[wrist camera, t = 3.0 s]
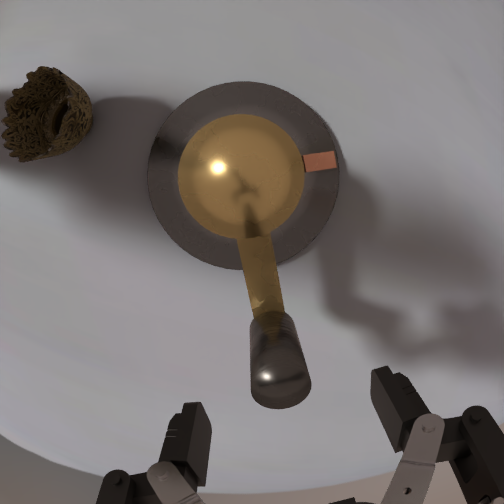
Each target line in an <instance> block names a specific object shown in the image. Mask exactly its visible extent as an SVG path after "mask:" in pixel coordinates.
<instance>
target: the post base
mask: <svg viewBox="0 0 504 504" xmlns="http://www.w3.org/2000/svg"><path fill="white" fill-rule="evenodd" d="M235 114H248V115H255V116H259V117H262V118H265V119H267V120H269V121H271V122H273V123H275V124H277V125H278V126H279V127H281V128H282V129H283V130H284V131H285V132H286V133H287V134H288V135H289V136H290V137H291V138H292V140H293V141H294V142H295V144H296V146H297V148H298V150H299V152H300V154H301V157H302V161H303V165H304V173H305V176H304V187H303V192H302V195H301V198H300V201H299V203H298V205H297V207H296V208H295V210H294V212H293V213H292V214H291V215H290V217H289V218H288V219H287V220H286V221H285V222H284V223H283V224H281V225H280V226H279V227H277V228H276V229H274V230H273V231H271V232H270V234H271V239H272V245H273V250H274V255H275V261H276V264H277V263H280V262H282V261H285V260H287V259H289V258H290V257H292V256H294V255H296V254H297V253H298V252H300V251H301V250H302V249H304V248H305V247H306V246H307V245H308V244H309V243H310V242H312V241H313V240H314V239H315V237H316V236H317V235H318V234H319V232H320V231H321V230H322V229H323V227H324V225H325V224H326V222H327V220H328V219H329V216H330V214H331V212H332V210H333V207H334V204H335V201H336V197H337V192H338V186H339V166H338V158H337V154H336V150H335V146H334V144H333V141H332V139H331V136H330V134H329V132H328V131H327V129H326V127H325V125H324V124H323V122H322V121H321V120H320V118H319V117H318V116H317V115H316V113H315V112H314V111H313V110H312V109H311V108H310V107H309V106H308V105H306V104H305V103H304V102H302V101H301V100H300V99H299V98H297V97H295V96H294V95H292V94H290V93H288V92H287V91H284V90H282V89H280V88H277V87H275V86H271V85H267V84H263V83H257V82H231V83H224V84H220V85H216V86H213V87H210V88H208V89H205V90H203V91H201V92H199V93H197V94H195V95H194V96H192V97H190V98H189V99H187V100H186V101H185V102H184V103H182V104H181V105H180V106H179V107H178V108H177V109H176V110H175V111H174V112H173V113H172V114H171V115H170V116H169V117H168V119H167V120H166V121H165V123H164V124H163V125H162V127H161V129H160V131H159V132H158V134H157V136H156V139H155V141H154V144H153V146H152V149H151V153H150V157H149V163H148V189H149V195H150V199H151V202H152V206H153V209H154V211H155V213H156V216H157V218H158V220H159V222H160V223H161V225H162V226H163V228H164V230H165V231H166V232H167V233H168V235H169V236H170V237H171V238H172V240H174V241H175V242H176V243H177V244H178V245H179V246H180V247H181V248H182V249H184V250H185V251H186V252H188V253H189V254H190V255H192V256H194V257H196V258H198V259H199V260H201V261H203V262H206V263H209V264H211V265H214V266H218V267H222V268H226V269H235V270H243V267H242V262H241V258H240V253H239V249H238V244H237V239H234V238H228V237H224V236H220V235H218V234H215V233H213V232H211V231H209V230H207V229H206V228H204V227H203V226H202V225H200V224H199V223H198V222H197V221H196V220H195V219H194V218H193V217H192V215H191V214H190V213H189V211H188V210H187V208H186V207H185V205H184V203H183V200H182V198H181V195H180V191H179V186H178V168H179V163H180V159H181V156H182V153H183V151H184V149H185V147H186V145H187V143H188V142H189V141H190V139H191V138H192V137H193V136H194V135H195V134H196V133H197V131H198V130H200V129H201V128H202V127H204V126H205V125H206V124H208V123H210V122H211V121H213V120H216V119H218V118H221V117H224V116H228V115H235Z"/></svg>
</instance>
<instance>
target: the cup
mask: <svg viewBox="0 0 504 504" xmlns="http://www.w3.org/2000/svg"><path fill="white" fill-rule="evenodd" d="M26 76H27V79H28V82H26V83H24V85H23V87H22V88H19V89H14V90H13V91H12V93H13V95H14V96H13V97H11V98H9V99H8V100H6V102H5V110H6V112H7V116H8V117H4V118H3V119H2V120H1V122H2V123H3V124H4V125H6V126H7V127H9V128H8V129H6V130H5V131H4V132H3V133H2V135H1V136H2V138H3V139H5V141H6V142H5V143H4V147H5V148H7V149H9V150H13V152H11V153H10V154H9V156H11V157H18V158H19V162H28V161H33V160H37V159H42V158H47V157H52V156H56V155H59V154H63V153H65V152H67V151H69V150H71V149H72V148H74V147H75V146H76V145H77V144H79V143H80V141H81V140H82V139H83V138H84V137H85V136H86V135H87V134H88V132H89V131H90V129H91V127H92V124H93V114H92V105H91V101H90V98H89V96H88V95H87V93H86V92H85V90H84V89H83V88H82V87H81V86H80V85H78V84H77V83H76V82H75V81H73V80H72V79H70V78H69V77H68V76H66V75H65V74H63V73H62V72H61V71H60V70H58V69H56V68H54V67H53V69H52V68H49V67H44V66H40V67H38V68H37V70H36V71H35V72H29V73H27V74H26Z"/></svg>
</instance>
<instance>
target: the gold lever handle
mask: <svg viewBox="0 0 504 504" xmlns="http://www.w3.org/2000/svg"><path fill="white" fill-rule="evenodd" d="M304 176H305V173H304V165H303V161H302V157H301V154H300V152H299V150H298V148H297V146H296V144H295V142H294V141H293V140H292V138H291V137H290V136H289V135H288V134H287V133H286V132H285V131H284V130H283V129H282V128H281V127H279V126H278V125H277V124H275V123H273V122H271V121H269V120H267V119H265V118H262V117H259V116H255V115H248V114H235V115H228V116H224V117H221V118H218V119H216V120H213V121H211V122H210V123H208V124H206V125H205V126H204V127H202V128H201V129H200V130H198V131H197V133H196V134H195V135H194V136H193V137H192V138H191V139H190V141H189V142H188V143H187V145H186V147H185V149H184V151H183V153H182V156H181V159H180V163H179V168H178V186H179V191H180V195H181V198H182V200H183V203H184V205H185V207H186V208H187V210H188V211H189V213H190V214H191V215H192V217H193V218H194V219H195V220H196V221H197V222H198V223H199V224H200V225H202V226H203V227H204V228H206V229H207V230H209V231H211V232H213V233H215V234H218V235H220V236H224V237H228V238H234V239H237V244H238V249H239V253H240V258H241V262H242V267H243V271H244V276H245V280H246V285H247V289H248V294H249V298H250V303H251V307H252V312H253V316H254V319H253V320H252V322H251V325H250V371H251V394H252V397H253V398H254V400H255V401H256V402H257V403H259V404H260V405H262V406H264V407H267V408H271V409H285V408H290V407H293V406H295V405H297V404H299V403H300V402H302V401H303V400H304V399H305V398H306V397H307V396H308V394H309V393H310V390H311V379H310V376H309V372H308V369H307V365H306V362H305V358H304V355H303V352H302V348H301V345H300V341H299V338H298V335H297V331H296V328H295V324H294V322H293V320H292V318H291V317H290V316H289V315H288V314H287V313H285V311H284V305H283V299H282V294H281V288H280V283H279V277H278V272H277V266H276V261H275V255H274V250H273V245H272V239H271V234H270V232H271V231H273V230H274V229H276V228H277V227H279V226H280V225H281V224H283V223H284V222H285V221H286V220H287V219H288V218H289V217H290V215H291V214H292V213H293V212H294V210H295V208H296V207H297V205H298V203H299V201H300V198H301V195H302V192H303V187H304Z"/></svg>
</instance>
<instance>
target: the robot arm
mask: <svg viewBox="0 0 504 504" xmlns="http://www.w3.org/2000/svg"><path fill="white" fill-rule="evenodd" d="M370 394H371V400H372V403H373V405H374V408H375V410H376V412H377V414H378V416H379V418H380V420H381V423H382V425H383V427H384V429H385V431H386V434H387V436H388V438H389V440H390V442H391V445H392V447H393V449H394V451H395V453H397V452H399V451H403V456H402V458H401V460H400V462H399V464H398V467H397V469H396V471H395V474H394V476H393V478H392V481H391V483H390V485H389V487H388V489H387V492H386V493H385V496H384V498H383V500H382V502H381V504H423V501H424V499H425V496H426V493H427V491H428V488H429V485H430V482H431V479H432V476H433V473H434V470H435V463H437V462H443V461H449V463H450V465H451V467H452V469H453V472H454V474H455V476H456V478H457V480H458V483H459V485H460V487H461V490H462V492H463V494H464V497H465V499H466V502H467V504H504V434H503V432H502V431H501V429H500V428H499V426H498V425H497V423H496V422H495V420H494V419H493V417H492V416H491V414H490V413H489V412H488V410H487V409H486V408H484V407H482V406H471V407H469V408H467V409H466V410H465V411H464V413H463V415H462V416H459V417H454V418H448V419H442V418H441V417H440V416H439V415H436V414H432V413H431V412H430V411H429V409H428V408H427V406H426V405H425V403H424V402H423V400H422V398H421V397H420V395H419V394H418V392H416V389H415V388H414V386H412V383H411V382H410V380H409V379H408V377H406V376H404V375H403V374H401V373H400V372H399V373H396V374H393V373H392V371H391V370H390V368H389V367H388V366H383V367H380V368H377V369H374V370H372V371H371V391H370ZM167 430H168V431H167V432H166V438H165V440H164V443H163V447H162V450H161V454H160V458H159V461H158V463H155V464H153V465H152V466H151V467H150V468H149V469H148V471H147V472H145V473H140V474H135V475H129V474H128V473H127V472H125V471H123V470H113V471H110V472H109V473H108V474H106V476H105V477H104V479H103V482H102V485H101V488H100V492H99V495H98V498H97V502H96V504H205V503H204V502H203V501H202V499H201V498H200V497H199V496H198V495H197V486H205V484H206V476H207V468H208V459H209V451H210V443H211V435H212V428H211V423H210V421H209V418H208V416H207V414H206V412H205V410H204V407H203V405H202V403H201V402H190V403H184V405H183V409H182V413H177V414H175V415H174V416H173V418H172V419H171V420H170V422H169V425H168V429H167ZM329 504H374V503H368V502H355V498H354V497H353V498H349V499H346V500H342V501H337V502H334V503H329Z"/></svg>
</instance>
